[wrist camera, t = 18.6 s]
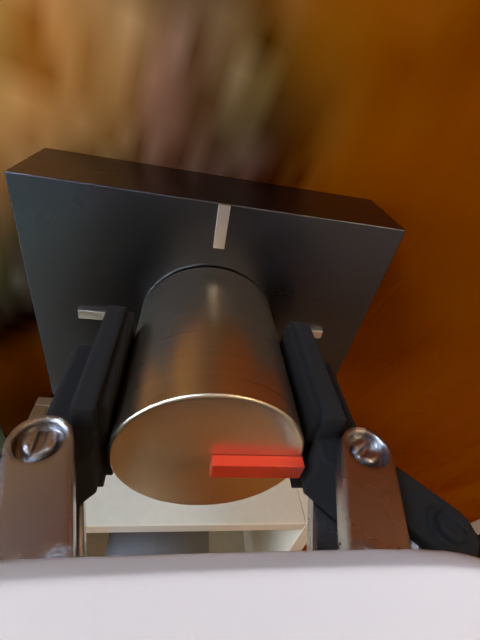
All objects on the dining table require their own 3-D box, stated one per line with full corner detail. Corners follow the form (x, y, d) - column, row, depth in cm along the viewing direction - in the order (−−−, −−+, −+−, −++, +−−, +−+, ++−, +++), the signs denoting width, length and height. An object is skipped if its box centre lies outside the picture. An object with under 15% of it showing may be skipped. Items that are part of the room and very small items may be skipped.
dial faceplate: (73, 347, 17) (50, 397, 14) (43, 147, 12) (0, 172, 9) (306, 363, 19) (322, 410, 16) (371, 199, 14) (409, 231, 11)
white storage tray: (69, 517, 27) (37, 627, 22) (38, 396, 19) (-27, 527, 14) (248, 516, 30) (257, 614, 24) (291, 408, 21) (320, 523, 16)
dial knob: (140, 365, 14) (109, 518, 9) (140, 258, 11) (95, 402, 6) (257, 372, 15) (281, 516, 10) (284, 274, 12) (335, 412, 7)
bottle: (224, 467, 24) (246, 887, 12) (180, 504, 26) (161, 878, 14) (146, 443, 21) (73, 940, 9) (106, 486, 24) (8, 918, 12)
